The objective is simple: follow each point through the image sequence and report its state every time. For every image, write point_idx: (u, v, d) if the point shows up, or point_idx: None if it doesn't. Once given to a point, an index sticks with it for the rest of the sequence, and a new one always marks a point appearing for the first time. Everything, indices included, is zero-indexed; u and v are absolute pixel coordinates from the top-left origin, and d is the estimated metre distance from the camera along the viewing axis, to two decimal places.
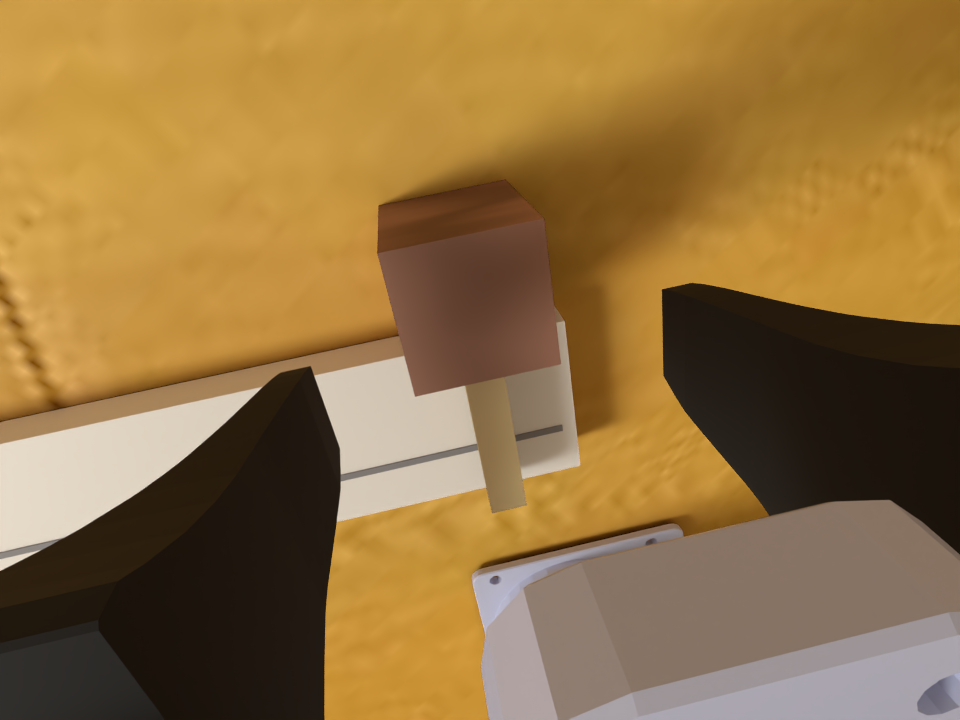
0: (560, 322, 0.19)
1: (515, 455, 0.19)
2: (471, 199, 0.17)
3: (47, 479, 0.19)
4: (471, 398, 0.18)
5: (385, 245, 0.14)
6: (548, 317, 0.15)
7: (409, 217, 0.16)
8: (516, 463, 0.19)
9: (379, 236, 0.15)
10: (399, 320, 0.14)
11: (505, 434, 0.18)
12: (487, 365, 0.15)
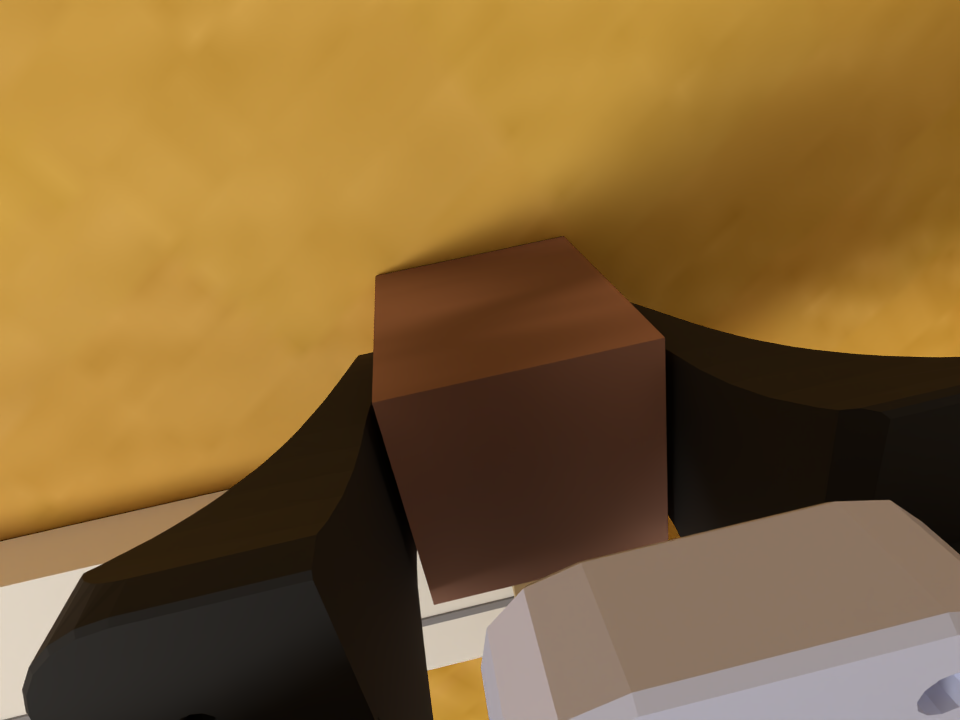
0: None
1: None
2: (520, 276, 0.11)
3: None
4: None
5: (386, 379, 0.08)
6: (656, 485, 0.09)
7: (424, 309, 0.10)
8: None
9: (376, 353, 0.09)
10: (410, 502, 0.08)
11: None
12: (552, 556, 0.09)
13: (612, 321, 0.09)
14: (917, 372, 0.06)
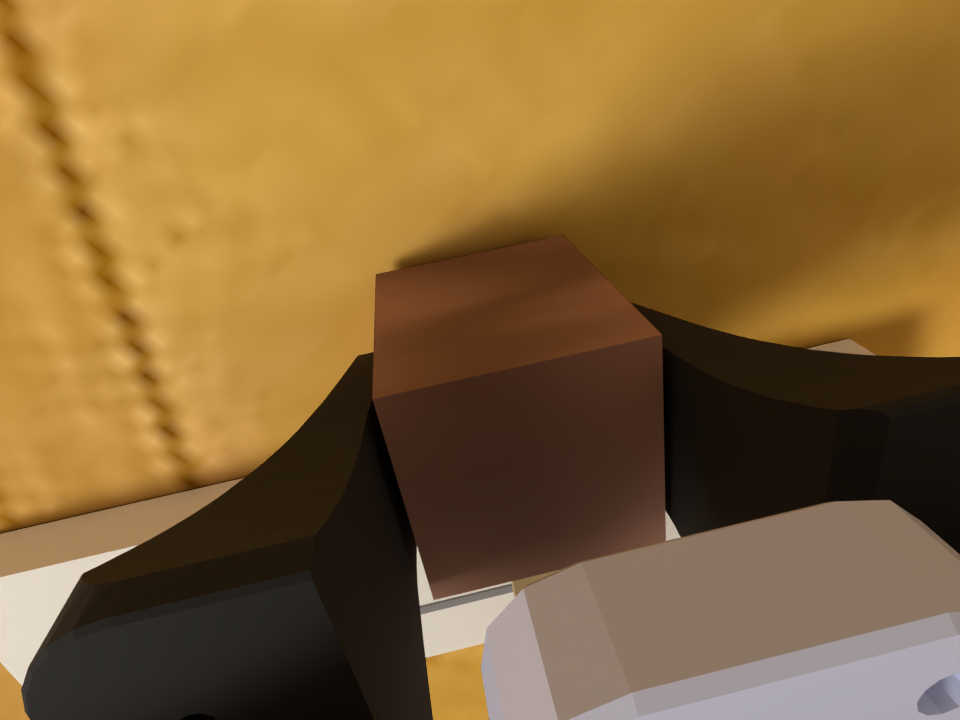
0: None
1: None
2: (519, 274, 0.11)
3: None
4: None
5: (385, 376, 0.08)
6: (653, 481, 0.09)
7: (424, 307, 0.10)
8: None
9: (376, 350, 0.09)
10: (409, 497, 0.09)
11: None
12: (550, 552, 0.10)
13: (610, 318, 0.09)
14: (917, 372, 0.06)
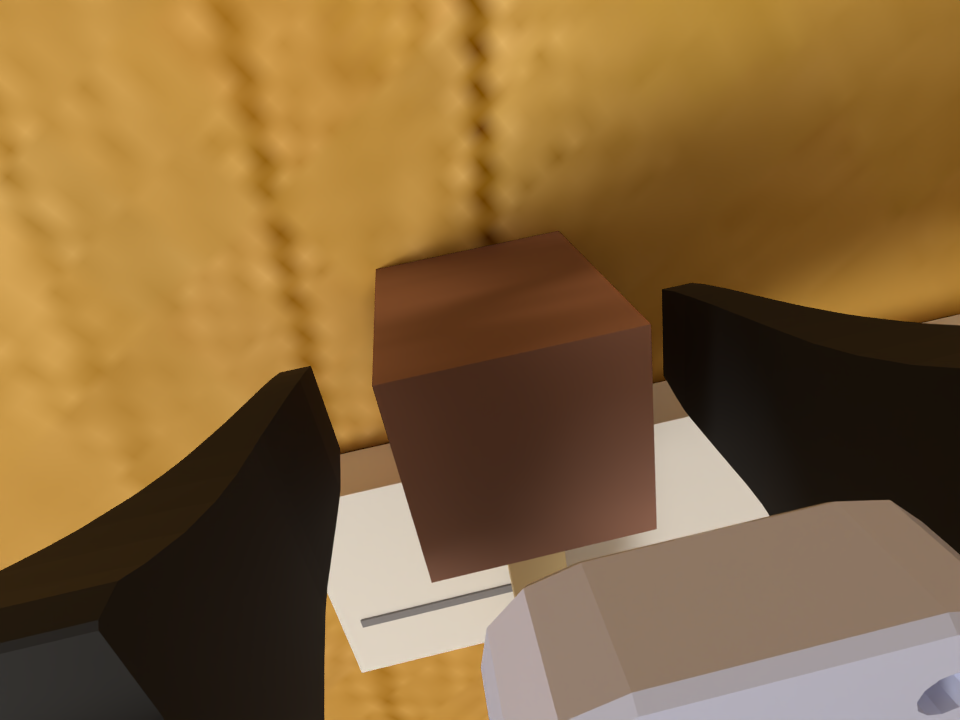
0: None
1: None
2: (515, 268, 0.11)
3: None
4: None
5: (384, 364, 0.09)
6: (644, 467, 0.09)
7: (422, 299, 0.10)
8: None
9: (376, 340, 0.09)
10: (408, 482, 0.09)
11: None
12: (545, 536, 0.10)
13: (601, 309, 0.09)
14: None
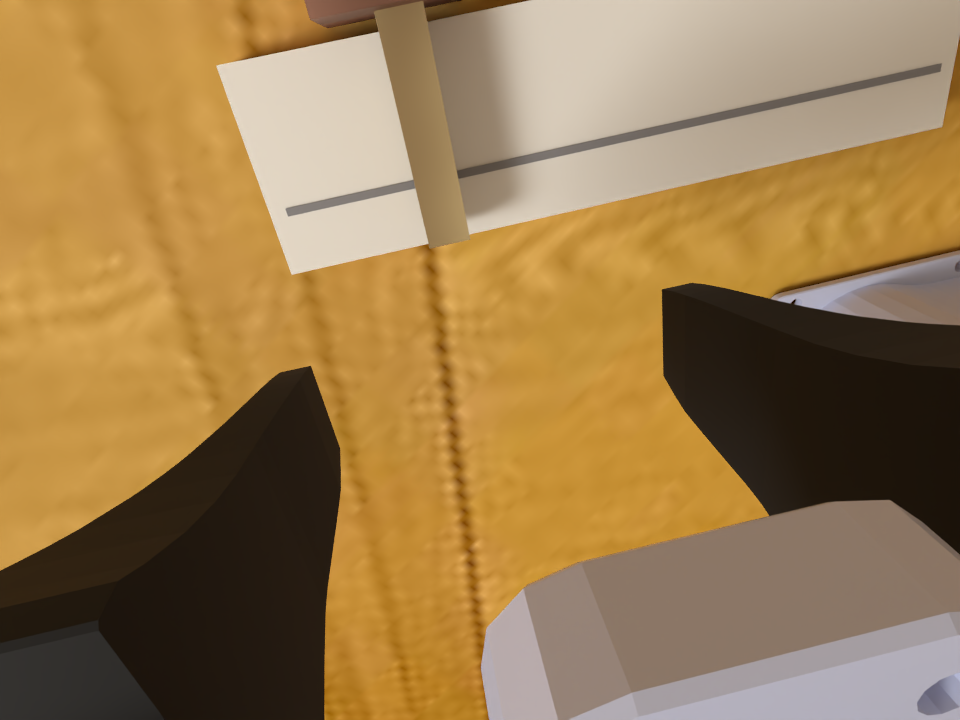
0: None
1: (451, 163, 0.16)
2: None
3: None
4: (392, 72, 0.15)
5: None
6: None
7: None
8: (453, 175, 0.16)
9: None
10: None
11: (438, 130, 0.15)
12: None
13: None
14: None
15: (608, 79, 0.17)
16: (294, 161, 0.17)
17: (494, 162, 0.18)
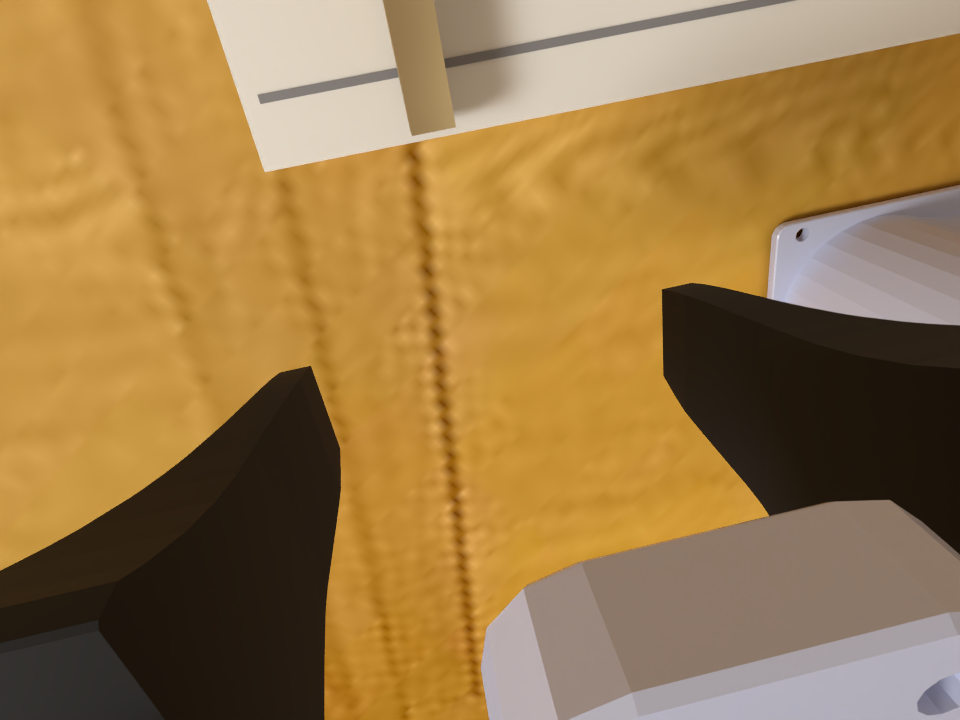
0: None
1: (436, 37, 0.15)
2: None
3: None
4: None
5: None
6: None
7: None
8: (438, 51, 0.15)
9: None
10: None
11: None
12: None
13: None
14: None
15: None
16: (267, 40, 0.16)
17: (484, 51, 0.17)
